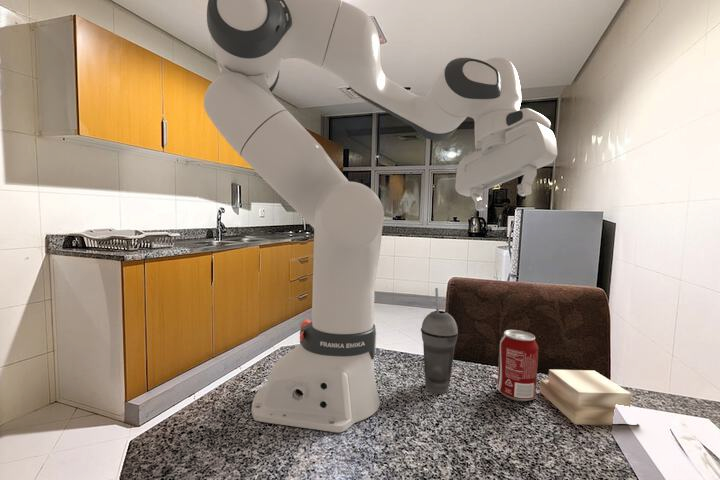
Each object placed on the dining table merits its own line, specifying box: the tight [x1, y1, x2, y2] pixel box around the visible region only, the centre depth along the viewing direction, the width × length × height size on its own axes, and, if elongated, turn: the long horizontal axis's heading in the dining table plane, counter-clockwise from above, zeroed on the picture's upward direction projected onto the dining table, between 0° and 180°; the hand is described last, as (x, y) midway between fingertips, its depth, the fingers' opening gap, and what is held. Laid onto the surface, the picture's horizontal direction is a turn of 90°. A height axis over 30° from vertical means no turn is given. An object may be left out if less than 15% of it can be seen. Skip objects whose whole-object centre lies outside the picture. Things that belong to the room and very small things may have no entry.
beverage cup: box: [420, 287, 459, 395], centre depth 68 cm, size 7×7×20 cm
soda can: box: [496, 329, 539, 402], centre depth 67 cm, size 7×7×12 cm
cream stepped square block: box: [539, 368, 635, 426], centre depth 63 cm, size 11×11×5 cm
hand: (501, 202), depth 63 cm, fingers open, 8 cm apart
